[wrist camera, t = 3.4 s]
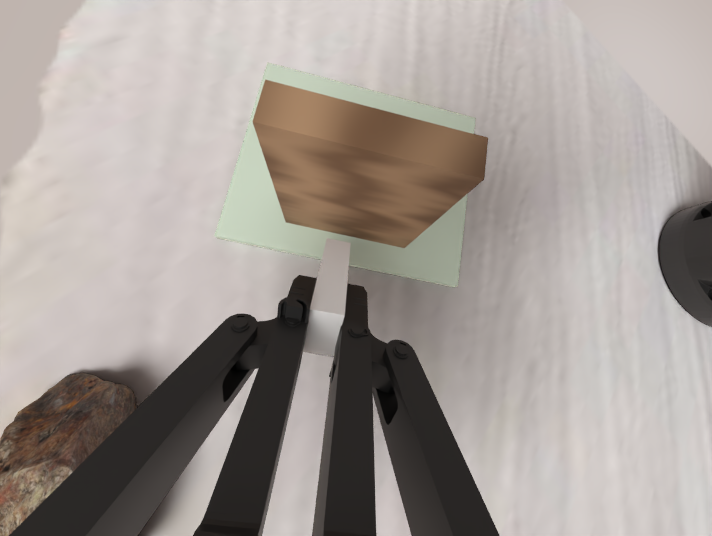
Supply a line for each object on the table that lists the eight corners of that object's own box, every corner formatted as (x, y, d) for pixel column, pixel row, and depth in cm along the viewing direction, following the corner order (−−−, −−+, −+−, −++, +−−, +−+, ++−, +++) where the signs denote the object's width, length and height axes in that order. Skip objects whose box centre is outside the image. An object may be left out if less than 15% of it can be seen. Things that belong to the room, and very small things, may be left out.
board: (407, 225, 29) (487, 137, 15) (404, 248, 28) (484, 179, 15) (291, 199, 28) (265, 79, 14) (285, 222, 27) (252, 121, 14)
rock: (166, 356, 25) (39, 382, 24) (92, 360, 17) (-111, 401, 16) (175, 545, 22) (26, 591, 20) (87, 665, 14) (-175, 759, 12)
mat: (471, 122, 33) (475, 118, 32) (453, 287, 29) (457, 286, 28) (268, 68, 31) (267, 62, 30) (217, 238, 27) (214, 235, 26)
